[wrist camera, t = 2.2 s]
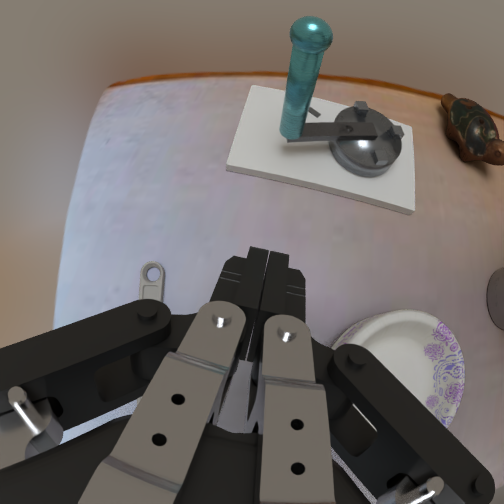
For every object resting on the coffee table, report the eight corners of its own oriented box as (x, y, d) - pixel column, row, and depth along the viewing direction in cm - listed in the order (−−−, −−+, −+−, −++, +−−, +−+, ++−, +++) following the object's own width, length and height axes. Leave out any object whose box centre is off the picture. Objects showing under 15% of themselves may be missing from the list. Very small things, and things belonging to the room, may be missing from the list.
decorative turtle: (474, 190, 39) (500, 164, 31) (418, 116, 43) (434, 84, 35) (501, 171, 39) (525, 147, 32) (450, 105, 44) (467, 76, 36)
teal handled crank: (380, 120, 39) (436, 18, 20) (401, 175, 36) (482, 78, 18) (267, 122, 38) (280, -7, 19) (279, 183, 35) (307, 51, 17)
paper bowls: (289, 350, 32) (302, 354, 25) (403, 294, 34) (439, 282, 27) (336, 463, 29) (358, 491, 21) (441, 401, 31) (479, 410, 23)
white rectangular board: (407, 132, 40) (412, 126, 39) (409, 215, 37) (415, 210, 35) (251, 91, 41) (252, 83, 40) (226, 170, 38) (226, 163, 36)
